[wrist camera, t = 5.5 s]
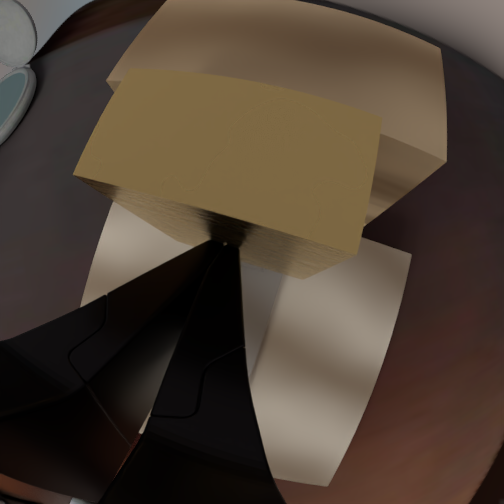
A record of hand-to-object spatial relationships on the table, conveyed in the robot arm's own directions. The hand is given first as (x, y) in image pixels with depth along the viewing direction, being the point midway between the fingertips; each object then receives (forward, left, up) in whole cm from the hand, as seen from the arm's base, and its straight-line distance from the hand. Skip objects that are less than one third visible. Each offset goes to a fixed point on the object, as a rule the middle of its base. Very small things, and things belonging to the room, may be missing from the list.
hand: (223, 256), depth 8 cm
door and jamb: (0, 0, -8) cm, 8 cm away
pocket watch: (+26, +14, -9) cm, 31 cm away
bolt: (+3, -3, -5) cm, 7 cm away
